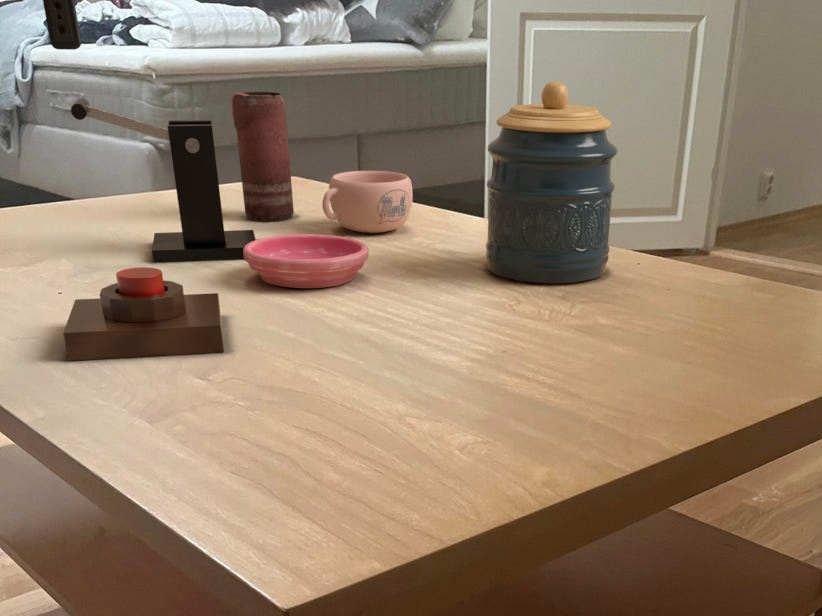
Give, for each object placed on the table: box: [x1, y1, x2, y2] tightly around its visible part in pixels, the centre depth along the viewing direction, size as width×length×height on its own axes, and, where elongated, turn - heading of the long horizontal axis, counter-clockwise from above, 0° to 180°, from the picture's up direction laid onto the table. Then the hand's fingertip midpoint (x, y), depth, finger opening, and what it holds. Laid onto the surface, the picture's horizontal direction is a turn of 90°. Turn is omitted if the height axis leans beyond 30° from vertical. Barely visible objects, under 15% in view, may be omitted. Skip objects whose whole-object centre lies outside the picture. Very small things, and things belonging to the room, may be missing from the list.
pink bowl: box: [243, 233, 369, 289], centre depth 101 cm, size 12×12×3 cm
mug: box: [321, 170, 414, 234], centre depth 120 cm, size 12×10×6 cm
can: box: [230, 91, 295, 222], centre depth 124 cm, size 6×6×14 cm
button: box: [115, 266, 165, 297], centre depth 82 cm, size 4×4×2 cm
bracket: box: [151, 119, 257, 263], centre depth 108 cm, size 11×9×13 cm
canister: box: [485, 80, 618, 284], centre depth 102 cm, size 13×13×18 cm
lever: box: [70, 98, 170, 142], centre depth 104 cm, size 13×5×2 cm, turn 104°
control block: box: [62, 279, 225, 362], centre depth 83 cm, size 12×10×4 cm
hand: (67, 48), depth 82 cm, fingers closed
